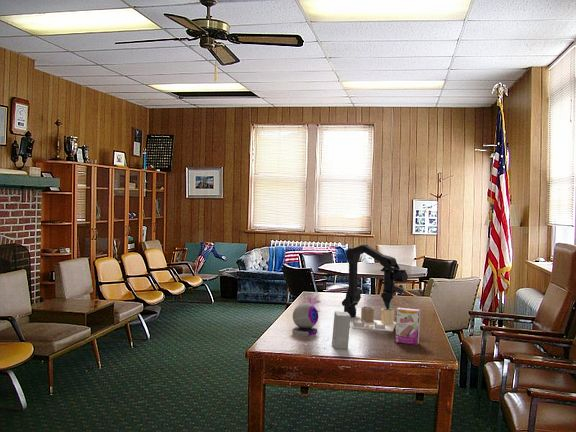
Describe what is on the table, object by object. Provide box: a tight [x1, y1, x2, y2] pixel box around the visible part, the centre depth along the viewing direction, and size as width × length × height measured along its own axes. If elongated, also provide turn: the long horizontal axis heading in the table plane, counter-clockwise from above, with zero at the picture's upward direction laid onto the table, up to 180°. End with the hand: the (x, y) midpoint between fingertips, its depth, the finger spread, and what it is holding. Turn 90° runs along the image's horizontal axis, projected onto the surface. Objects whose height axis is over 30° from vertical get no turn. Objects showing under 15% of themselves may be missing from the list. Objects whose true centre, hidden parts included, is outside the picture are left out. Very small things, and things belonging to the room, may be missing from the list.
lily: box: [300, 294, 322, 307], centre depth 357 cm, size 12×12×10 cm
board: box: [352, 306, 396, 332], centre depth 321 cm, size 21×22×8 cm
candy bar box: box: [394, 307, 421, 346], centre depth 285 cm, size 11×5×16 cm, turn 71°
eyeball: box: [291, 303, 319, 337], centre depth 300 cm, size 13×13×15 cm
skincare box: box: [331, 311, 352, 350], centre depth 274 cm, size 8×7×16 cm
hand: (387, 308), depth 326 cm, fingers closed on teal ball, 4 cm apart
